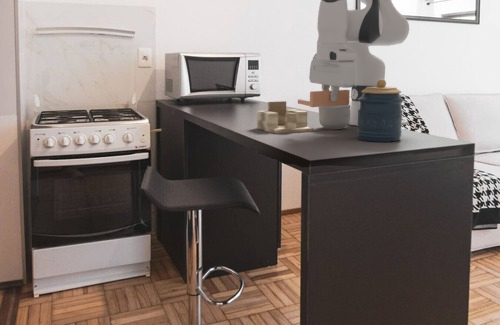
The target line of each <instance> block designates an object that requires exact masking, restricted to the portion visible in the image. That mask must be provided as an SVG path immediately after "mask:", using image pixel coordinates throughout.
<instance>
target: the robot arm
mask: <svg viewBox="0 0 500 325" xmlns="http://www.w3.org/2000/svg"><path fill="white" fill-rule="evenodd" d="M359 1H360V2H361V3H362V4H364V5H365V7H364V8H362V9H348V1H347V0H320V2H319V8H318V12H317V13H318V15H317V32H318V34H317V35H318V39H317V41H316V53H315V54H314V56H313V57H312V59H311V62H310V67H309V75H308V76H309V78H308V79H309V82H310V83H311V84H318V85H321V91H331V90H332V92H331V95H329V100H330V101H336V100H337V94H338V92H339V90H340V88H344V89H349V88H351V90H350V97H351V104H350V121H349V124H348V125H350V126H356V127H357V126H358V109H359V106H360V102H359V100H358V99H359V98H360V97H362V95H363V93H362V92H361V91H362V90H364V89H365V88H366V87H377V82H378V80H380V79H383V80H385V77H386V64H385V62H384V60H383V59H382V58H380V57H379V56H377V55H375V54H372V53H371V52H370V49H369V47H372V46H373V47H375V46H376V47H378V46H380V47H384V46H386V47H387V46H395V45H399V44H400V45H401V44H403V43H404V42H405V40H406V39H407V37H408V35H409V33H410V32H409V31H410V24H409V21H408V20H407V18H406V16H405V15H403V14H401V13H400V12H399V10H397V9H396V8H397V7H396V6H395V5H394V4H393V1H392V0H359ZM385 81H386V80H385ZM403 125H404V126H405V125H409V121H408V120H404V119H402V124H401V126H403Z"/></svg>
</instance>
